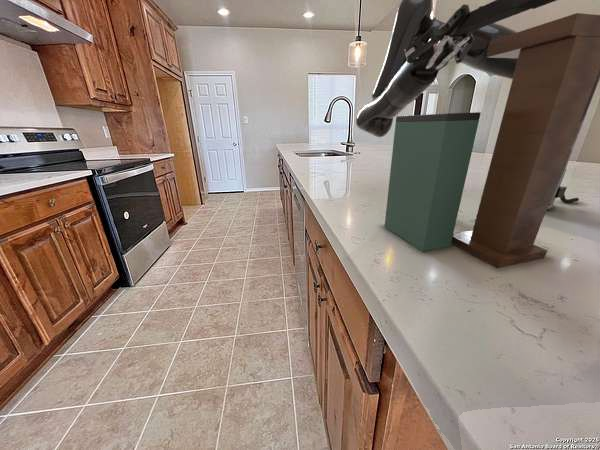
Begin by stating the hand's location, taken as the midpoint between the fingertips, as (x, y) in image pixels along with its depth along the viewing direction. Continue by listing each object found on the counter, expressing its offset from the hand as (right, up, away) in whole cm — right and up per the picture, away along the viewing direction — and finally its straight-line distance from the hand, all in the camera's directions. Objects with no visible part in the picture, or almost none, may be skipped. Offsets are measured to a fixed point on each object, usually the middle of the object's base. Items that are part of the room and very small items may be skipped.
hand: (476, 10), depth 40 cm
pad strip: (+1, -4, -3) cm, 5 cm away
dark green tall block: (-6, -38, +9) cm, 40 cm away
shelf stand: (+5, -40, +4) cm, 40 cm away
